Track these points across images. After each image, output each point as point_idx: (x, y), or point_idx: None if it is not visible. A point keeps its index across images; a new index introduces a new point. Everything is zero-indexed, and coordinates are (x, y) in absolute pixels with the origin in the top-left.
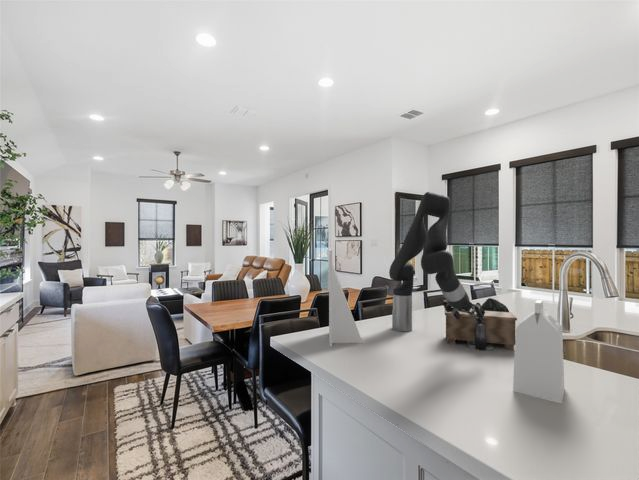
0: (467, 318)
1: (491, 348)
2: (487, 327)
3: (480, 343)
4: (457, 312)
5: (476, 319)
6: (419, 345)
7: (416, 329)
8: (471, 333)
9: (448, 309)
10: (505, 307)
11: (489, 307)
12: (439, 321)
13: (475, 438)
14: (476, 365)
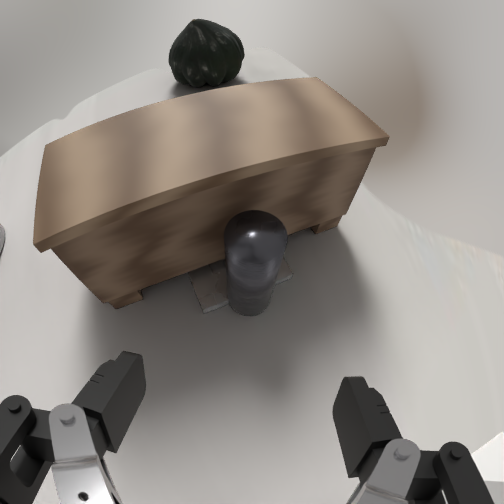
0: (166, 205)
1: (287, 277)
2: (269, 201)
3: (258, 304)
4: (115, 412)
5: (345, 458)
6: (46, 406)
7: (16, 222)
8: (198, 248)
9: (40, 476)
10: (235, 35)
11: (198, 44)
12: (78, 120)
13: None
14: (311, 499)
